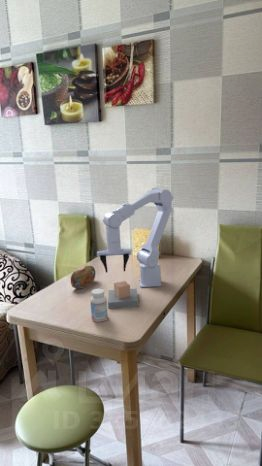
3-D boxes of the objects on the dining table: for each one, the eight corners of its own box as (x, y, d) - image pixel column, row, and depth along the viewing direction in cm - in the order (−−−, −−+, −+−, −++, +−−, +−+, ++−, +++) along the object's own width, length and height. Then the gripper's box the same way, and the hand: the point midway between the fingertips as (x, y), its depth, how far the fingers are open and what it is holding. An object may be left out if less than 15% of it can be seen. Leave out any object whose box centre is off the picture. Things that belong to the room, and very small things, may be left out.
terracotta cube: (125, 291, 150) (124, 280, 149) (130, 296, 146) (129, 284, 144) (114, 294, 148) (113, 283, 147) (119, 298, 144) (118, 287, 142)
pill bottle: (92, 315, 136) (89, 288, 133) (107, 314, 137) (105, 287, 134) (91, 323, 131) (89, 295, 128) (108, 321, 131) (106, 293, 128)
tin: (75, 291, 158) (73, 274, 156) (70, 290, 160) (68, 273, 158) (96, 280, 171) (95, 263, 168) (91, 279, 172) (90, 262, 170)
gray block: (136, 294, 153) (136, 288, 153) (138, 307, 142) (138, 300, 141) (109, 296, 153) (108, 290, 152) (108, 309, 142) (107, 302, 141)
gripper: (130, 237, 154) (131, 266, 157) (96, 239, 153) (99, 268, 157) (131, 241, 147) (132, 272, 151) (96, 244, 146) (98, 274, 150)
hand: (115, 271), depth 153 cm, fingers open, 7 cm apart
